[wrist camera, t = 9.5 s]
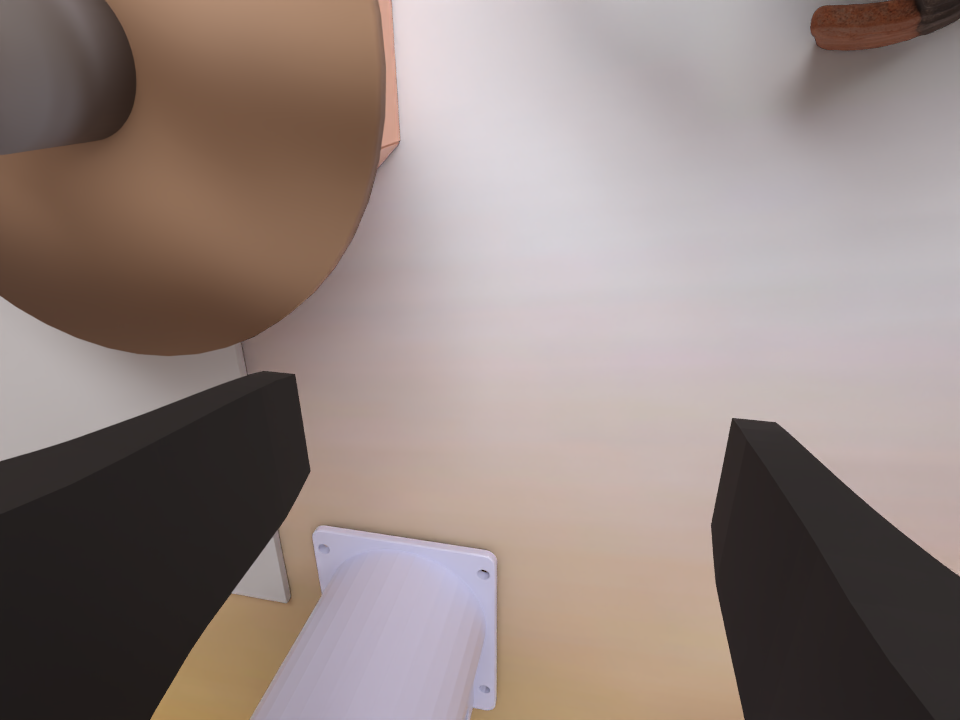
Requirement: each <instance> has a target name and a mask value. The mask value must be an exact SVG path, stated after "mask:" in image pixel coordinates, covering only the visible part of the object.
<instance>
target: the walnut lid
mask: <svg viewBox="0 0 960 720" xmlns="http://www.w3.org/2000/svg"><path fill="white" fill-rule="evenodd" d="M385 106H386V61H385V51H384V40H383V29H382V19H381V12H380V7H379V2H378V0H0V296H1V297H2V298H4V299H5V300H7V301H8V302H10V303H11V304H12V305H14V306H15V307H17V308H19V309H20V310H22V311H24V312H26V313H27V314H29V315H31V316H33V317H34V318H36V319H38V320H40V321H41V322H43V323H45V324H47V325H49V326H51V327H53V328H56V329H58V330H60V331H62V332H65V333H67V334H69V335H71V336H73V337H76V338H78V339H81V340H84V341H87V342H91V343H94V344H97V345H100V346H103V347H106V348H110V349H115V350H120V351H125V352H130V353H135V354H143V355H157V356H179V355H193V354H201V353H205V352H210V351H214V350H218V349H223V348H227V347H229V346H232V345H234V344H237V343H239V342H242V341H244V340H247V339H249V338H252V337H254V336H256V335H257V334H259V333H261V332H262V331H264V330H266V329H267V328H269V327H271V326H272V325H274V324H275V323H277V322H279V321H280V320H282V319H283V318H284V317H286V316H287V315H288V314H290V313H291V312H292V311H293V310H295V309H296V308H297V307H298V306H299V305H300V304H302V303H303V302H304V301H305V300H306V299H307V298H308V297H310V296H311V295H312V294H313V293H314V292H315V291H316V290H317V289H318V287H319V286H320V285H321V284H322V283H323V282H324V280H325V279H326V278H327V277H328V276H329V274H330V273H331V272H332V271H333V270H334V268H335V267H336V266H337V264H338V262H339V261H340V259H341V257H342V256H343V254H344V252H345V251H346V249H347V247H348V246H349V244H350V242H351V241H352V239H353V237H354V235H355V233H356V230H357V228H358V226H359V223H360V221H361V218H362V216H363V214H364V211H365V209H366V207H367V204H368V202H369V198H370V194H371V190H372V187H373V183H374V179H375V176H376V172H377V168H378V164H379V160H380V152H381V145H382V138H383V130H384V123H385Z"/></svg>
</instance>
